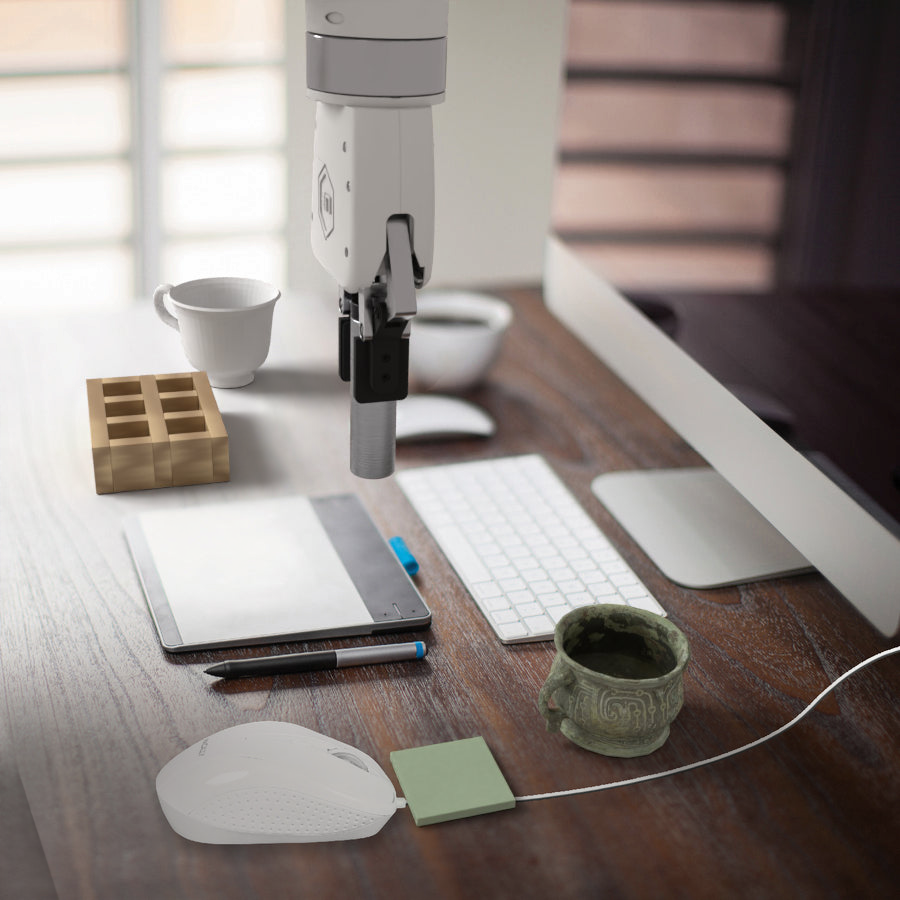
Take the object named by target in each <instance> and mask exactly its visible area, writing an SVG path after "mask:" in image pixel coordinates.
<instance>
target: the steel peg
mask: <svg viewBox="0 0 900 900" xmlns="http://www.w3.org/2000/svg"><path fill="white" fill-rule="evenodd" d="M386 298H387V297H377V298H373V311H374V308H375V307H376V304H377V303H378V302H385V299H386ZM355 336H360V333H359V295H357V296H355V297H353V298H352V299H351V345H350V382H349V383H350V385H349V387H350V388H349V389H350V393H349V395H350V396H349V397H350V399H349V407H350V409H349V417H350V418H349V446H350V447H349V470H350V472H351V474H352V475H354V476H355V477H358V478H360V479H365V480H380V479H386V478H388V477H391V476H392V475H394V473H395V471H396V449H397V448H396V445H397V444H396V443H397V442H396V441H397V401H387V402H376V403H365V404H360V403H358V402H357V401H356V400H355V398H354V396H353V351H354V337H355Z"/></svg>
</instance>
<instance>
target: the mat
mask: <svg viewBox="0 0 900 900" xmlns="http://www.w3.org/2000/svg"><path fill="white" fill-rule="evenodd" d="M389 760H390V763H391V766H392V768H393V771H394V774H395V775H396V778H397V780H398V782H399V785H400V788H401V791H402V793H403V796H404V797H405V800H406V802H407V805H408V808H409V810H410V812H411V815H412V818H413V820H414V822H415V825H416V827H423V826H428V825H433V824H439V823H443V822H449V821H453V820H459V819H464V818H469V817H473V816H479V815H483V814H489V813H494V812H499V811H504V810H510V809H515V808H516V803H517V802H516V801H517V800H516V798H515V795H514V794H513V792H512V790H511V789H510V786H509V784H508V783H507V781H506V778H505V777H504V775H503V773H502V771H501V769H500V767H499V765H498V763H497V762H496V760H495V758H494V756H493V753H492V752H491V750H490V748H489V746H488V745H487V742H486V741H485V739H484V737H483V735H481V736H475V737H470V738H464V739H457V740H452V741H446V742H441V743H440V742H439V743H435V744H429V745H424V746H418V747H412V748H406V749H405V748H404V749H399V750H394V751H390V753H389Z"/></svg>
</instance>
